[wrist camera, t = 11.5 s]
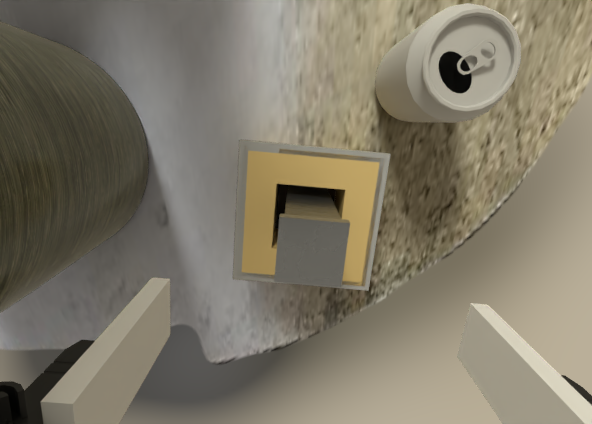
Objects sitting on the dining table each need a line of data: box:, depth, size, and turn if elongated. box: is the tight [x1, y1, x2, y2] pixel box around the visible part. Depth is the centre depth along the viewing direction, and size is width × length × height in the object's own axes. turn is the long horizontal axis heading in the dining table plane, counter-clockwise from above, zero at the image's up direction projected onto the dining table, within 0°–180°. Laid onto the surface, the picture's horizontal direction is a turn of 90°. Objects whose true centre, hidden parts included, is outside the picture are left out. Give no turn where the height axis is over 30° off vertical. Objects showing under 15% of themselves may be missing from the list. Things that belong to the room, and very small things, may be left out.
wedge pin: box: [274, 185, 350, 287], centre depth 29 cm, size 5×5×14 cm
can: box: [375, 3, 521, 123], centre depth 27 cm, size 8×8×12 cm
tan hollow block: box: [233, 140, 390, 291], centre depth 33 cm, size 13×13×6 cm
